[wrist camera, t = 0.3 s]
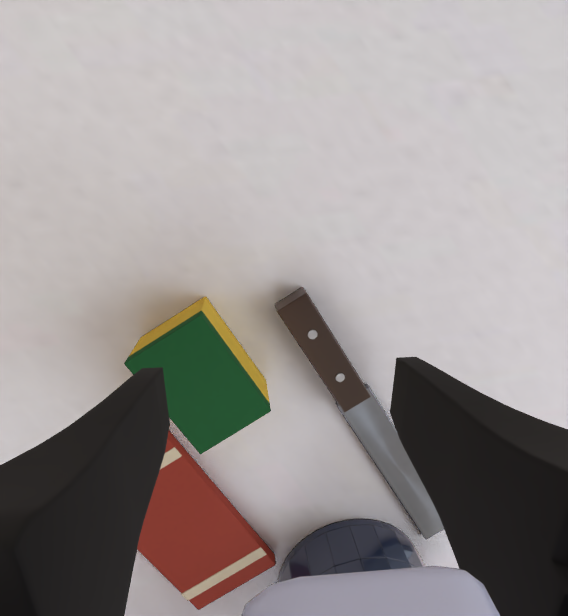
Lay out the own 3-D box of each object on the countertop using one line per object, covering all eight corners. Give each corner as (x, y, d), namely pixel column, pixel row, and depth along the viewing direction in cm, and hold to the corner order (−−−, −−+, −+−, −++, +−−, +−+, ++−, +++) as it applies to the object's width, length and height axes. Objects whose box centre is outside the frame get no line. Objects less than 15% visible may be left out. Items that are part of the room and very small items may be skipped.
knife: (423, 535, 28) (433, 553, 27) (271, 305, 22) (273, 313, 21) (451, 519, 28) (462, 536, 27) (305, 284, 22) (310, 290, 21)
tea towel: (199, 598, 28) (198, 611, 27) (79, 477, 24) (73, 487, 23) (275, 554, 27) (276, 565, 26) (164, 424, 24) (161, 433, 23)
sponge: (205, 418, 24) (200, 454, 21) (140, 337, 22) (123, 363, 19) (266, 380, 24) (271, 411, 20) (205, 295, 22) (200, 314, 19)
